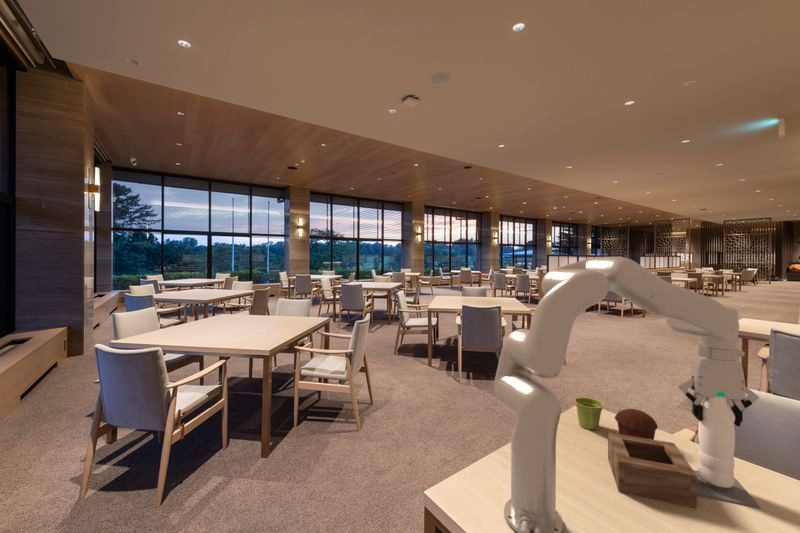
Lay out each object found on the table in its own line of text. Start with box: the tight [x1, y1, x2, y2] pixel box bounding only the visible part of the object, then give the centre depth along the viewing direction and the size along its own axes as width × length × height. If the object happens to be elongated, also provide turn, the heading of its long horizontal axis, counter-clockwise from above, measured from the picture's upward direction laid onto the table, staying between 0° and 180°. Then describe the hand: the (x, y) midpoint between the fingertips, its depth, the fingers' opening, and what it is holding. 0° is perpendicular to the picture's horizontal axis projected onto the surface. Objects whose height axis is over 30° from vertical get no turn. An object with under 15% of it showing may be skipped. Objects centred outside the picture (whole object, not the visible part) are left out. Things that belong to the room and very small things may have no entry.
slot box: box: [607, 431, 698, 510], centre depth 92 cm, size 16×16×8 cm
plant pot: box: [573, 396, 605, 431], centre depth 123 cm, size 9×9×9 cm
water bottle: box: [697, 391, 736, 488], centre depth 90 cm, size 7×7×25 cm
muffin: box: [614, 408, 658, 440], centre depth 113 cm, size 12×11×10 cm
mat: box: [693, 469, 761, 509], centre depth 90 cm, size 12×12×1 cm
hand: (716, 420), depth 90 cm, fingers closed on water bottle, 7 cm apart
